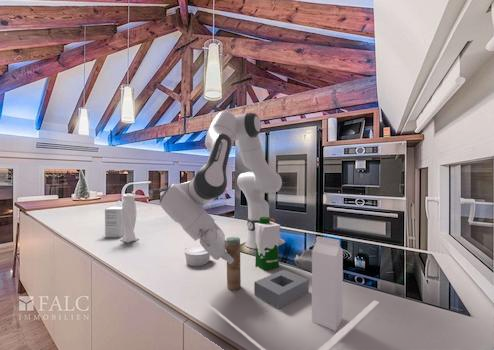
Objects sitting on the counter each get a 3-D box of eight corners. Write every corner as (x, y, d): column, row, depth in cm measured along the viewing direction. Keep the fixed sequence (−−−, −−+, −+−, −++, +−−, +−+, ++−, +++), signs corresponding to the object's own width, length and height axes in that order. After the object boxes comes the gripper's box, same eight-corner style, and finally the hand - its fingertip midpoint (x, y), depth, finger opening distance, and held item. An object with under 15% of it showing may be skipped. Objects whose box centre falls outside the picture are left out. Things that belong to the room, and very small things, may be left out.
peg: (233, 284, 80) (232, 235, 78) (243, 288, 77) (242, 238, 75) (224, 290, 76) (223, 239, 75) (234, 295, 73) (233, 242, 72)
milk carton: (270, 262, 100) (270, 216, 100) (282, 270, 92) (283, 219, 92) (252, 266, 96) (252, 217, 96) (263, 274, 88) (264, 222, 88)
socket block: (284, 283, 81) (284, 269, 81) (308, 295, 73) (308, 279, 73) (254, 297, 72) (254, 281, 72) (278, 312, 64) (279, 294, 64)
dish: (293, 270, 92) (293, 258, 92) (298, 258, 105) (298, 247, 105) (332, 276, 87) (332, 263, 87) (332, 263, 100) (332, 251, 100)
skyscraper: (140, 240, 132) (140, 190, 131) (127, 244, 125) (126, 191, 125) (132, 238, 136) (132, 190, 136) (118, 241, 129) (118, 191, 129)
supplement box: (112, 233, 147) (112, 206, 146) (127, 232, 148) (127, 206, 147) (104, 237, 137) (104, 208, 137) (121, 237, 138) (120, 208, 138)
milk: (319, 313, 64) (320, 233, 64) (342, 322, 60) (343, 237, 60) (311, 325, 59) (311, 238, 59) (335, 335, 55) (336, 242, 55)
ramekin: (205, 268, 94) (205, 255, 94) (179, 266, 96) (179, 253, 96) (214, 258, 105) (214, 246, 105) (191, 256, 107) (191, 245, 107)
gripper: (206, 227, 65) (241, 260, 66) (209, 214, 85) (236, 240, 86) (189, 243, 64) (225, 277, 65) (197, 226, 85) (224, 252, 86)
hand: (231, 256), depth 76 cm, fingers open, 8 cm apart
